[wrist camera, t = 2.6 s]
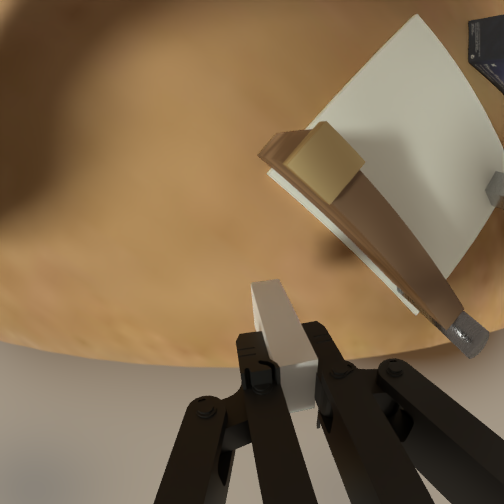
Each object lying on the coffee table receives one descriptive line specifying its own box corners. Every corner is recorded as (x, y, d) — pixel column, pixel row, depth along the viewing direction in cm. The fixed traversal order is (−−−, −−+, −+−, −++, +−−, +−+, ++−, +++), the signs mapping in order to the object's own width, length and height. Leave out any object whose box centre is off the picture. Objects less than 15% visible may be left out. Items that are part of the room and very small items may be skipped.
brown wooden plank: (390, 283, 24) (451, 338, 16) (252, 155, 19) (287, 165, 11) (407, 263, 24) (472, 312, 16) (276, 129, 19) (326, 120, 10)
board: (266, 173, 21) (268, 174, 20) (413, 15, 17) (417, 13, 16) (413, 312, 28) (416, 315, 27) (509, 172, 24) (513, 173, 23)
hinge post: (389, 283, 26) (463, 352, 15) (405, 264, 25) (485, 325, 15) (401, 295, 26) (471, 362, 16) (416, 277, 26) (491, 337, 16)
